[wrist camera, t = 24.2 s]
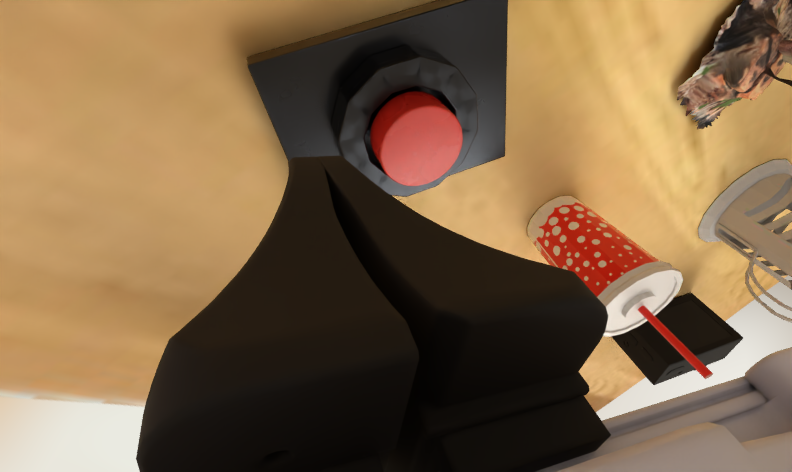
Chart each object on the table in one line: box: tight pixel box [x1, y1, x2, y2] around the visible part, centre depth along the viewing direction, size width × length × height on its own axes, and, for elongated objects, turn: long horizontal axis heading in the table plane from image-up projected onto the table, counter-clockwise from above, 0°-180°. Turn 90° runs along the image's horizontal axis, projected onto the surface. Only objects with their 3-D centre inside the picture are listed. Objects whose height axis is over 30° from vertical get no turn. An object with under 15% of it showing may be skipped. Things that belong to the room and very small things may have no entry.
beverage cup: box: [527, 196, 713, 379], centre depth 26 cm, size 6×6×14 cm
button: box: [370, 91, 463, 186], centre depth 19 cm, size 4×4×2 cm
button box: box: [247, 0, 508, 197], centre depth 20 cm, size 12×9×3 cm
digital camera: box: [611, 293, 743, 385], centre depth 47 cm, size 10×5×7 cm, turn 92°
